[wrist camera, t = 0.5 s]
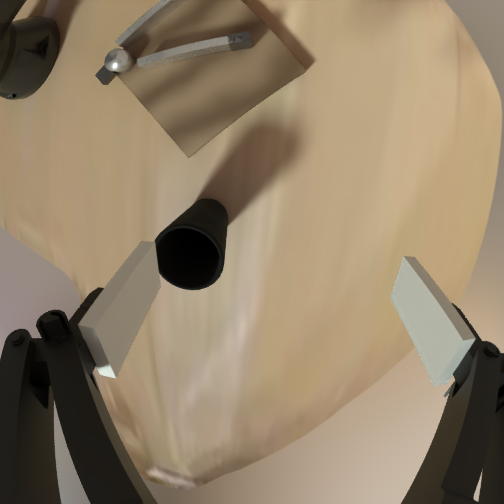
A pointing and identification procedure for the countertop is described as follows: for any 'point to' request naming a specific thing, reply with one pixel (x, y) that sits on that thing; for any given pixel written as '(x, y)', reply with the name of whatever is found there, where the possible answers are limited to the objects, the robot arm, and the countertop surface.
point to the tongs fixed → (134, 40)
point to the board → (208, 71)
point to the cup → (194, 246)
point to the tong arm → (197, 49)
